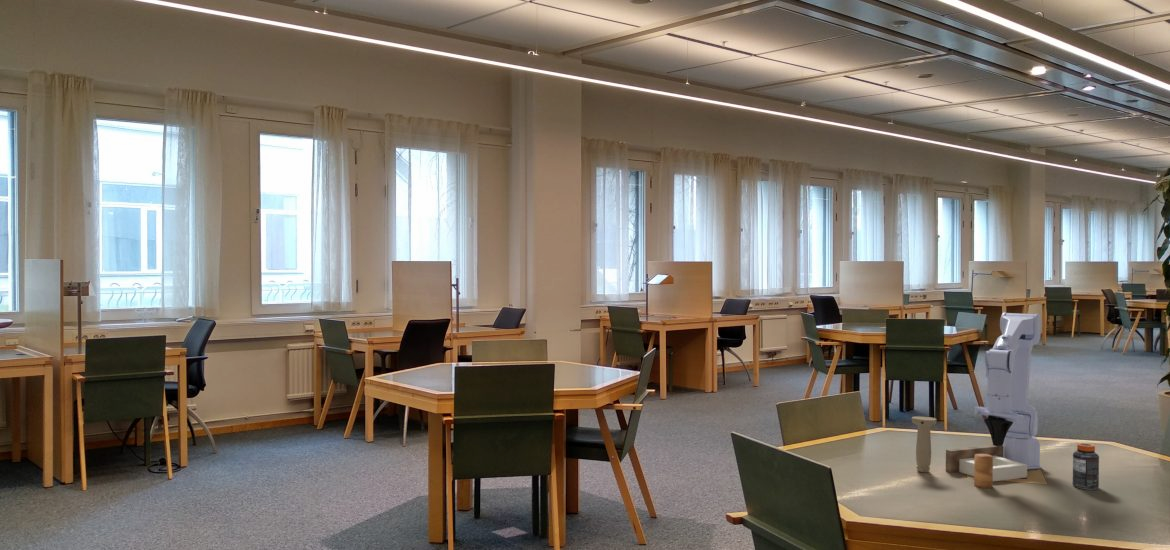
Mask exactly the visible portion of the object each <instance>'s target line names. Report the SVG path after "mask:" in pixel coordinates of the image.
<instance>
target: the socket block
mask: <svg viewBox="0 0 1170 550" xmlns="http://www.w3.org/2000/svg"><path fill="white" fill-rule="evenodd" d="M974 459H975V458H967V459H959V473H962V474H965V475H968V476H971V477H974ZM1024 478H1025V479H1026V478H1028V470H1027V464H1023V463H1020V462H1016V461H1013V460H1009V459H1006V458H1002V457H999V456H993V482H998V481H1000V482H1001V481H1009V480H1017V479H1024Z"/></svg>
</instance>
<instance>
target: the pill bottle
mask: <svg viewBox="0 0 1170 550" xmlns="http://www.w3.org/2000/svg"><path fill="white" fill-rule="evenodd" d="M1076 448H1077V449H1076V450H1075V451H1074V452H1073V453H1072V486H1073V487H1075V488H1077V489H1081V490H1091V491H1092V490H1097V489H1099V488H1100V487H1099V485H1100V484H1099V483H1100V482H1099V481H1100V479H1099V478H1100V476H1099V475H1100V455H1099V454H1098V453H1096V452H1095V451H1096V444H1095V445H1094V444H1092V443H1086V442H1085V443H1084V442H1081V443H1077V446H1076Z"/></svg>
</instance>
